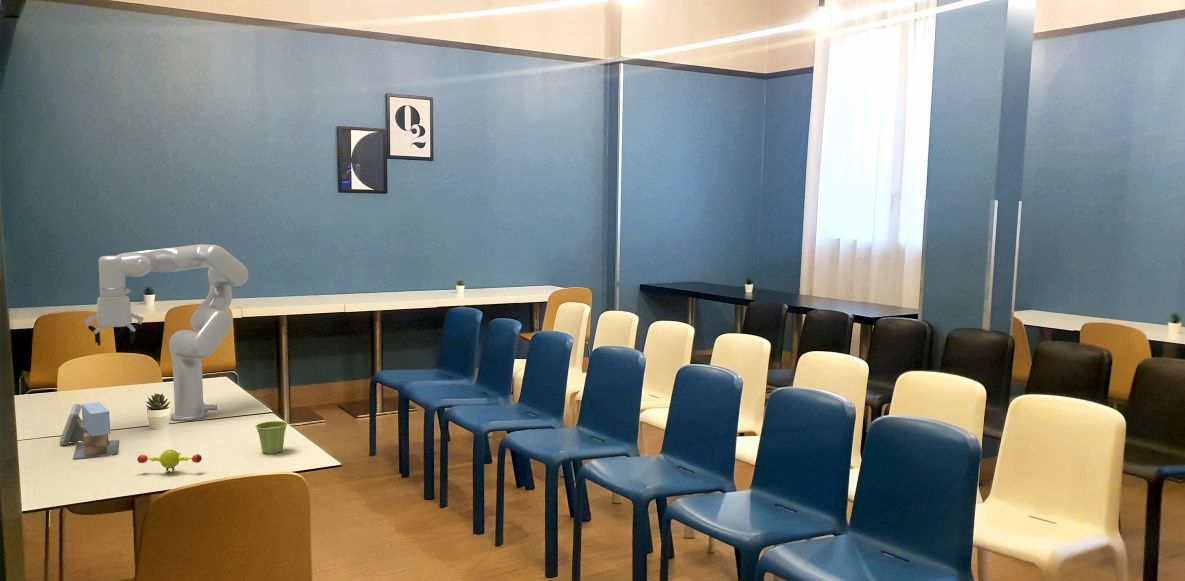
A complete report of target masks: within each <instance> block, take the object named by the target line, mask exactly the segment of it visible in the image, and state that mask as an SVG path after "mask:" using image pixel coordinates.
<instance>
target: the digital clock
mask: <svg viewBox="0 0 1185 581" xmlns="http://www.w3.org/2000/svg"><path fill="white" fill-rule="evenodd" d="M81 411H82V404H80V403H74V404H72V407H71V409H70V412H69V415H68V418H67V421H66V422H65V423H66V424H65V426H64V429H63V431H62V434H61V437H60V441H59V444H60V445H61V446H67V445H66V444H68V445H69V444H70V443H69V442H78V441H84V433H86V431H85V428H84V427H83V421H82V418H80V412H81ZM78 443H79V442H78Z"/></svg>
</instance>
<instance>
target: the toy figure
mask: <svg viewBox="0 0 1185 581" xmlns="http://www.w3.org/2000/svg"><path fill="white" fill-rule="evenodd" d="M181 455H182V452H181V451H180V450H178V451H176V450H175V449H166V450H165V451H163V452H162V453H161V455H160V456H159V457H155V456H152V457H148V456H147V455H145V454H140V455H139V456H138V457H137V462H138V463H140V464H146V462H147V461H148V460H150V461H152V462H159V463H160V465H161V466H162V467H163V468H165V474H169V473H171V474H175V473H176V469H175V467H176V466H178V465H179V463H180V462H181V461H182V462H183V461H185V462H187V461H189V460H191V461H192V462H193V463H196V464H198V463H199V464H200V462H202V459H203V458H202V457H203V456H202V455H201V454H198V453H197V454H194V455H192V457H188V456H185V457H184V456H181ZM169 469H171V470H169Z"/></svg>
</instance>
